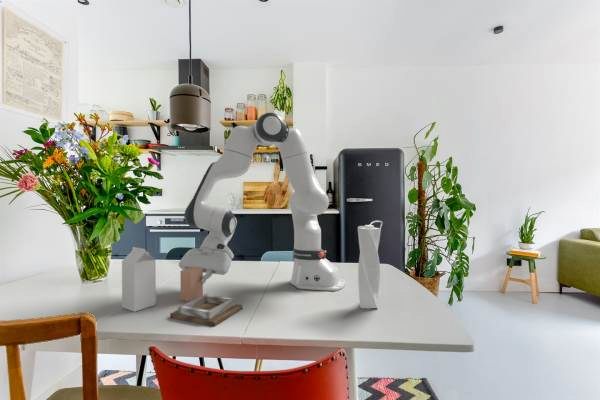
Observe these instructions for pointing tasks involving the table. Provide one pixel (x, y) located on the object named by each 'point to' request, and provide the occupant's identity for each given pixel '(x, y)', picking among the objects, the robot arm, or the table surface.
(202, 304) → the walnut board
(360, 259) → the skyscraper
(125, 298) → the milk carton
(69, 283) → the table surface
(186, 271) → the terracotta post
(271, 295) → the table surface
